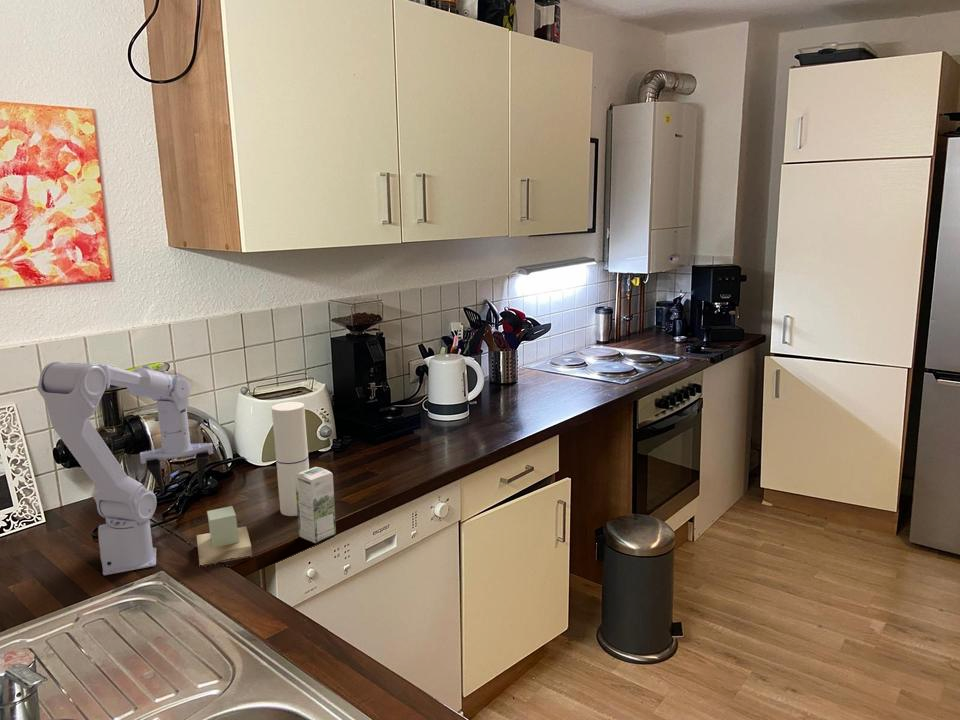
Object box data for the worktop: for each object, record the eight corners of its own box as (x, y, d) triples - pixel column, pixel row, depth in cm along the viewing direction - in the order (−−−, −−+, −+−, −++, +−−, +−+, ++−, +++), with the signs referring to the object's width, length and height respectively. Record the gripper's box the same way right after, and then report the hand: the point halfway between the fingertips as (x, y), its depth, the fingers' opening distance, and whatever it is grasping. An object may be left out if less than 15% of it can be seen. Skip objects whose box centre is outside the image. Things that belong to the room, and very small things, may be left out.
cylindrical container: (292, 518, 169) (283, 412, 164) (274, 510, 174) (265, 406, 168) (318, 508, 174) (310, 405, 169) (300, 500, 179) (292, 400, 173)
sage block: (213, 548, 150) (209, 520, 149) (210, 538, 155) (206, 511, 153) (239, 542, 152) (235, 514, 151) (235, 532, 157) (232, 505, 156)
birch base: (200, 569, 148) (198, 555, 147) (198, 548, 157) (196, 535, 156) (252, 559, 152) (251, 545, 151) (247, 539, 161) (246, 526, 160)
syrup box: (319, 527, 164) (315, 465, 161) (337, 534, 161) (332, 471, 157) (298, 537, 160) (293, 473, 157) (316, 544, 156) (311, 479, 153)
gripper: (209, 419, 166) (215, 477, 169) (138, 428, 161) (145, 487, 164) (211, 428, 160) (217, 488, 163) (137, 438, 155) (144, 499, 158)
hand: (181, 488), depth 163 cm, fingers open, 7 cm apart
